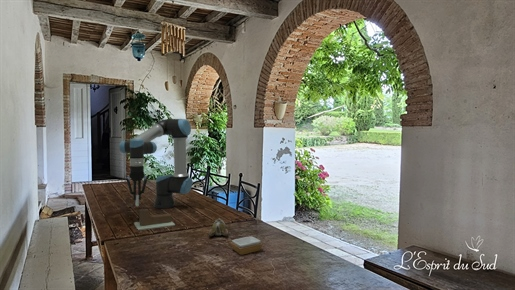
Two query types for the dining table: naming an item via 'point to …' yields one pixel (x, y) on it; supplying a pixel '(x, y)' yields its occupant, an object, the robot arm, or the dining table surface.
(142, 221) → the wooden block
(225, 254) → the dining table surface
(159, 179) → the robot arm
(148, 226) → the mat
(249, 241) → the soap dish
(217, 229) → the ceramic sculpture
